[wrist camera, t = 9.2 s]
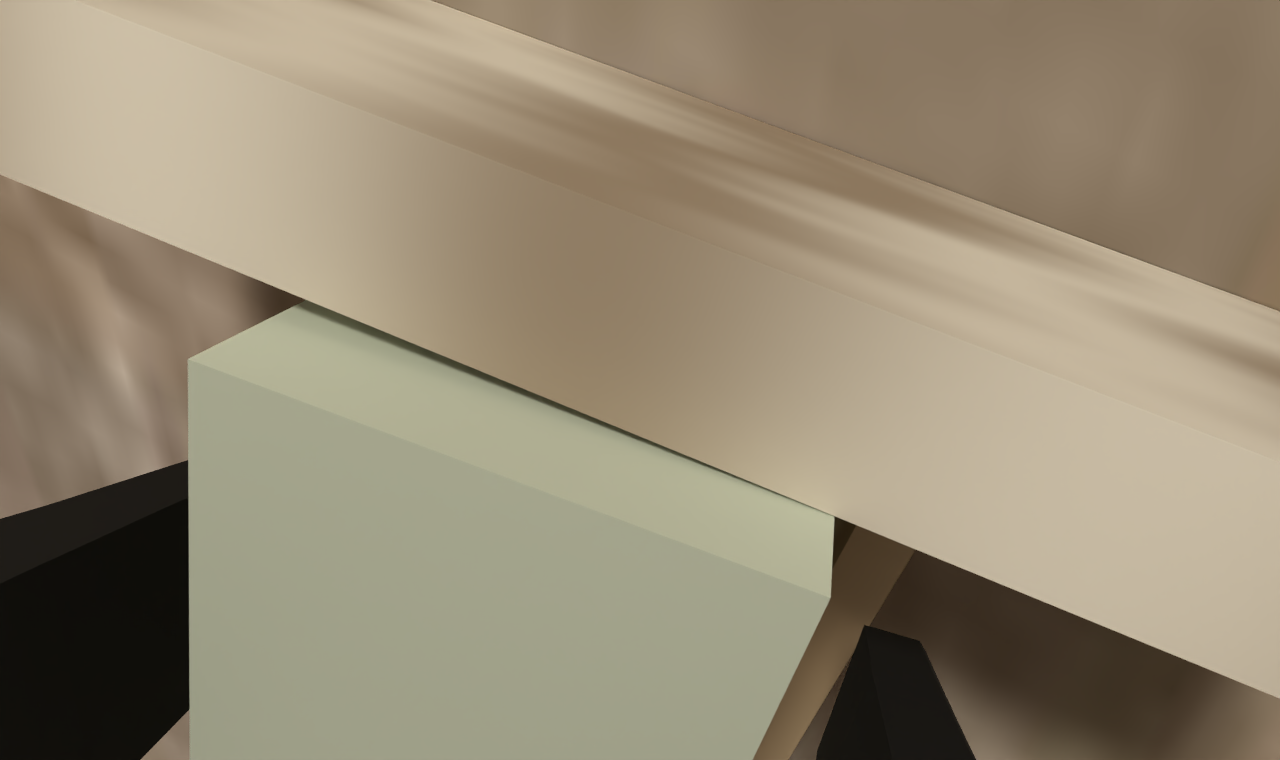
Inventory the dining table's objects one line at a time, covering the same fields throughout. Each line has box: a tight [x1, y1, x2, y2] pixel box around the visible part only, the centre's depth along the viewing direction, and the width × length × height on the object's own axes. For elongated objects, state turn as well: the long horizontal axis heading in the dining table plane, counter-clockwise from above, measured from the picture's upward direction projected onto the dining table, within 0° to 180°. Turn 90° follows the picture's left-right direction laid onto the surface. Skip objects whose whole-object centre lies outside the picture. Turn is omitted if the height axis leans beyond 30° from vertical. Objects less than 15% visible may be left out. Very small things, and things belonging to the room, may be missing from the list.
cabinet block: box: [188, 300, 834, 760], centre depth 10 cm, size 4×8×7 cm, turn 165°
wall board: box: [0, 0, 1280, 760], centre depth 10 cm, size 16×12×6 cm
